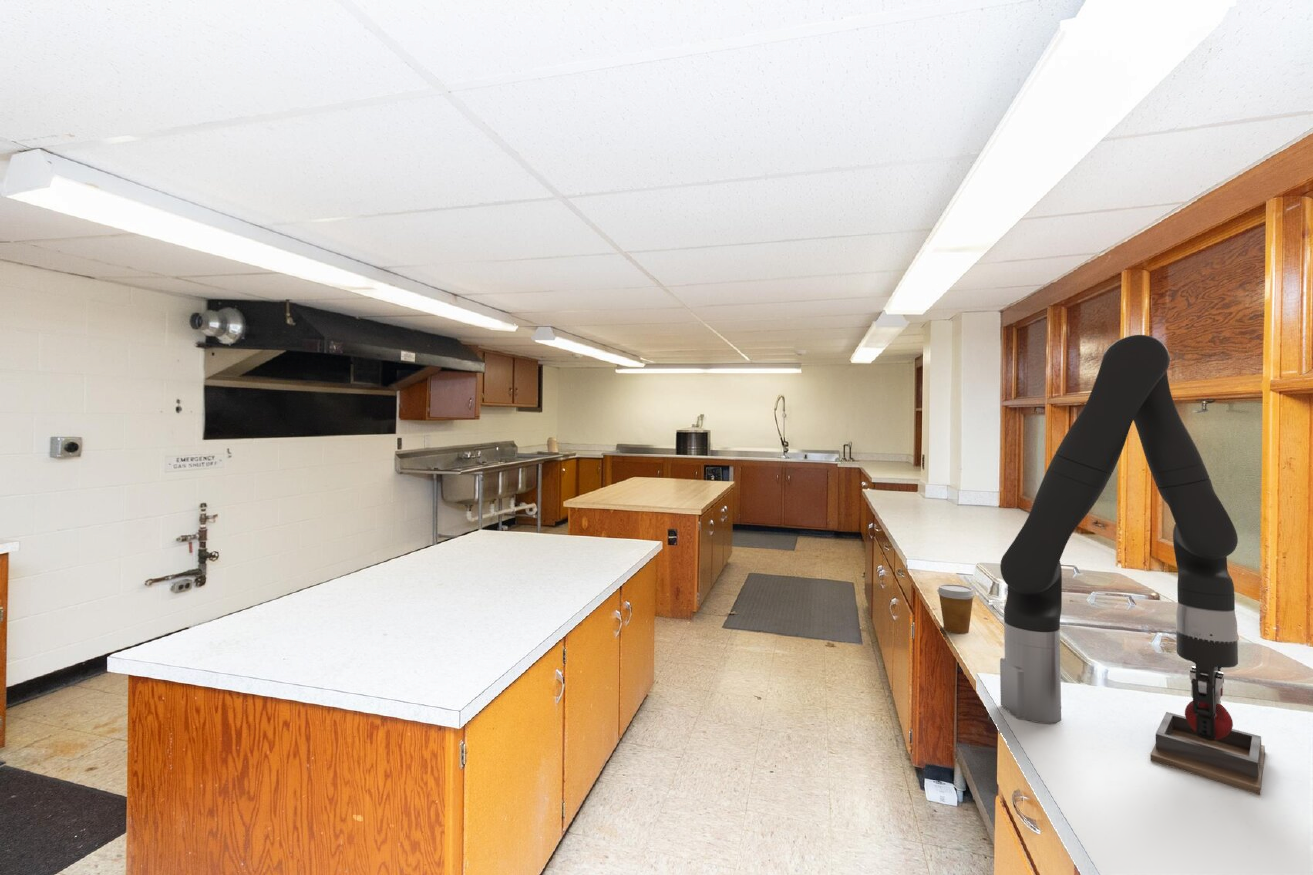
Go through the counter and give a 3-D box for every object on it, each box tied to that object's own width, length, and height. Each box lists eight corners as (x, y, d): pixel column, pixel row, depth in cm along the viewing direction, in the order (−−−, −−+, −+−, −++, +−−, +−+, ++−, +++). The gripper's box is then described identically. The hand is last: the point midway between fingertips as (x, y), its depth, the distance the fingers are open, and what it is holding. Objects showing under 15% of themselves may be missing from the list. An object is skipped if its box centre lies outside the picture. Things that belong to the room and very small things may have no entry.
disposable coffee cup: (976, 628, 164) (975, 586, 164) (974, 637, 156) (973, 593, 156) (939, 622, 169) (939, 582, 169) (935, 631, 161) (935, 589, 161)
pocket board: (1260, 794, 86) (1259, 771, 86) (1150, 760, 95) (1150, 739, 95) (1264, 751, 98) (1264, 731, 98) (1166, 724, 107) (1166, 706, 107)
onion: (1243, 751, 93) (1242, 702, 93) (1201, 747, 94) (1200, 699, 94) (1215, 733, 99) (1214, 687, 99) (1177, 730, 100) (1176, 684, 100)
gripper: (1234, 648, 89) (1236, 756, 89) (1240, 628, 99) (1242, 726, 99) (1170, 636, 95) (1172, 738, 95) (1182, 618, 104) (1183, 711, 104)
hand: (1208, 731), depth 97 cm, fingers closed on onion, 6 cm apart
